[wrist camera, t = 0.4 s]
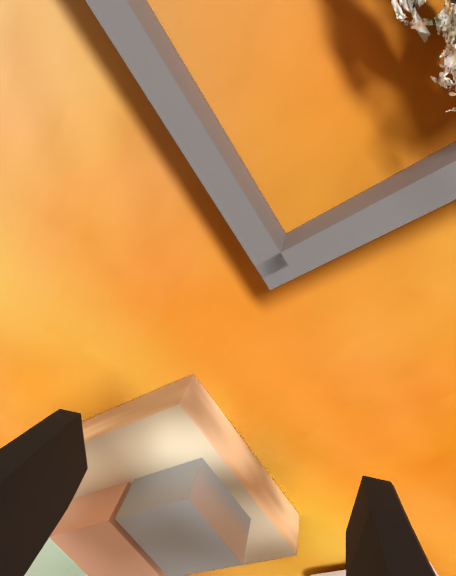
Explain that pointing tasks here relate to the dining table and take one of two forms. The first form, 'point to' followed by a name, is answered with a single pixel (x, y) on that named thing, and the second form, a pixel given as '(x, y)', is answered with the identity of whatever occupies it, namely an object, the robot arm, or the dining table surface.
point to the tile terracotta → (102, 536)
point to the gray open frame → (235, 176)
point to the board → (189, 458)
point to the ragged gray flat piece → (452, 29)
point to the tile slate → (186, 519)
